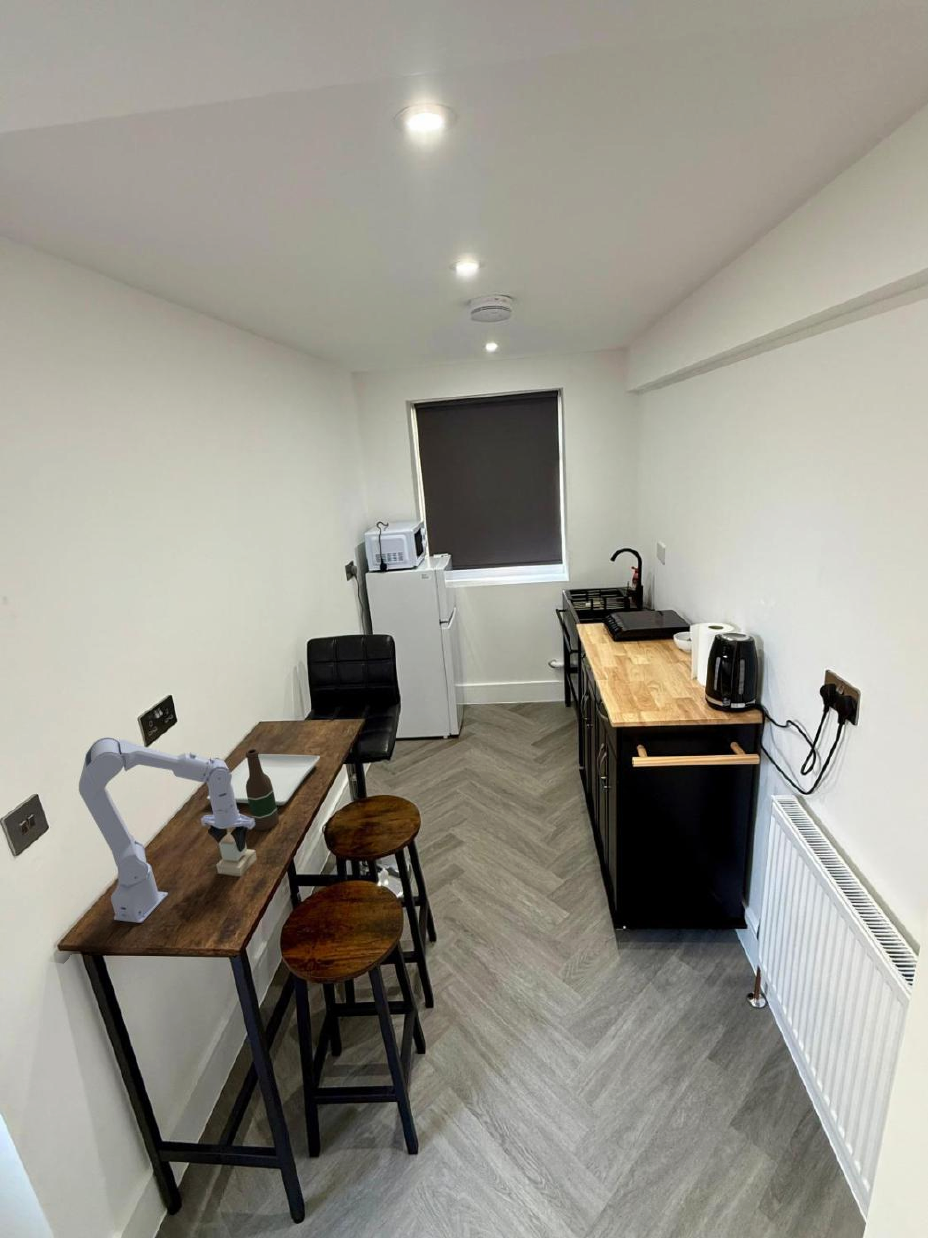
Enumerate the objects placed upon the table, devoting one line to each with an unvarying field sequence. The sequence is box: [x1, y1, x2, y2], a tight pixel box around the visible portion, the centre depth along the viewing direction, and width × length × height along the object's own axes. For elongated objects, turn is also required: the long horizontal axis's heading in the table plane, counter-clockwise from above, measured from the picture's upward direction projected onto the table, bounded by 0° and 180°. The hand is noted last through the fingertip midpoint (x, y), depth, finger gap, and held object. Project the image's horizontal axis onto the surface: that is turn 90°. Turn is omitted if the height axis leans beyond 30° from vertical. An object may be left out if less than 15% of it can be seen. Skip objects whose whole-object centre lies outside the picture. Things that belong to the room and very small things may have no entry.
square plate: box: [206, 753, 321, 806], centre depth 195 cm, size 27×27×4 cm
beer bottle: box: [245, 748, 280, 832], centre depth 171 cm, size 8×8×24 cm
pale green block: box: [218, 831, 248, 861], centre depth 155 cm, size 4×4×6 cm
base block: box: [216, 848, 258, 877], centre depth 157 cm, size 7×7×3 cm
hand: (234, 848), depth 155 cm, fingers closed on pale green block, 4 cm apart
